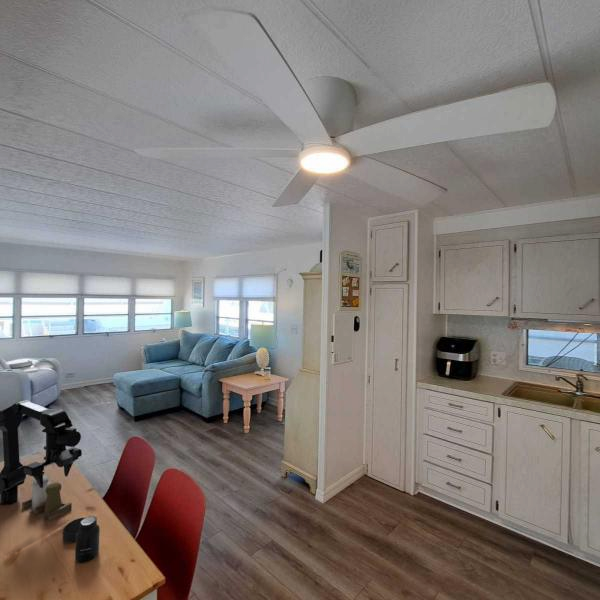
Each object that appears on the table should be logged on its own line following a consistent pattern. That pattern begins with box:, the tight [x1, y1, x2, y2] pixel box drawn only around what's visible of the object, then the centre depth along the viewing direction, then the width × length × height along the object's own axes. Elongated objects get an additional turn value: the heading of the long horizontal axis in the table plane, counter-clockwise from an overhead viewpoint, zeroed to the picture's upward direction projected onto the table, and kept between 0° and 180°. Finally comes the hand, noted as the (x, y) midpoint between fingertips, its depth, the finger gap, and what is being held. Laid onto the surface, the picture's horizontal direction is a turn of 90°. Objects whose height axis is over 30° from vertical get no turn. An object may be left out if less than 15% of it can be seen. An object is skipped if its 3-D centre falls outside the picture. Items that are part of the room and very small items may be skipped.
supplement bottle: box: [74, 515, 101, 564], centre depth 111 cm, size 7×7×12 cm
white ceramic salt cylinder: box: [31, 475, 50, 510], centre depth 136 cm, size 6×6×11 cm
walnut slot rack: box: [21, 497, 72, 522], centre depth 134 cm, size 19×8×3 cm, turn 66°
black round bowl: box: [62, 517, 85, 543], centre depth 121 cm, size 9×9×4 cm
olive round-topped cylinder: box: [44, 481, 63, 516], centre depth 133 cm, size 6×6×11 cm
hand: (54, 481), depth 133 cm, fingers open, 9 cm apart
